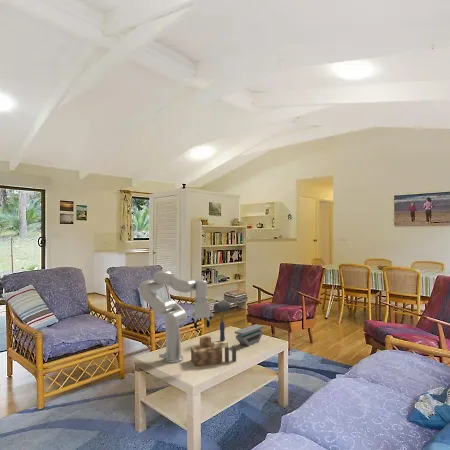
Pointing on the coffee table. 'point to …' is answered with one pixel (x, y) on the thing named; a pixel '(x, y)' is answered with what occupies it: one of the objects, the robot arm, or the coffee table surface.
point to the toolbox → (212, 357)
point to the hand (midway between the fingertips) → (201, 327)
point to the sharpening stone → (249, 335)
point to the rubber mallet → (222, 316)
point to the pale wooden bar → (219, 344)
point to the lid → (204, 346)
